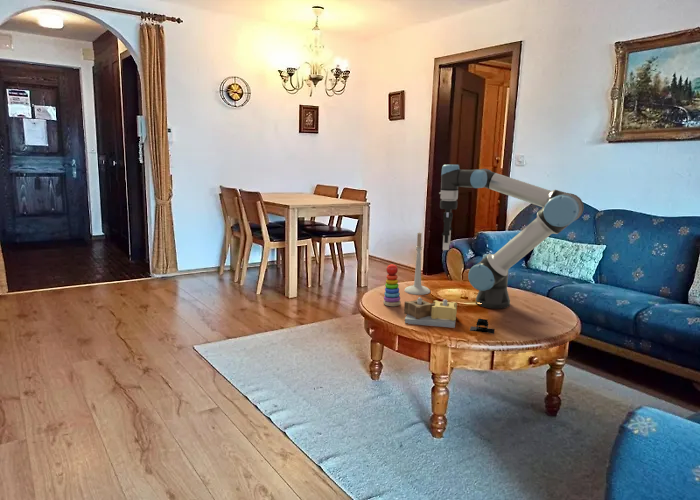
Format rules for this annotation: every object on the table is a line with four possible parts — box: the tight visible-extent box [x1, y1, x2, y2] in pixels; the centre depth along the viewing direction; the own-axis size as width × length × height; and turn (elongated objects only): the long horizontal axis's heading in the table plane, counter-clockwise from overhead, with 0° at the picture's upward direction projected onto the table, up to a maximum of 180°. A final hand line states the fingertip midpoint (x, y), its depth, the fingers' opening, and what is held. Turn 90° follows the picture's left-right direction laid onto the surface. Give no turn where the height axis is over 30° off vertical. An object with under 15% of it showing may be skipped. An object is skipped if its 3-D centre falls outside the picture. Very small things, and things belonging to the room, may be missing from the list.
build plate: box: [469, 318, 496, 335], centre depth 198 cm, size 12×7×5 cm, turn 72°
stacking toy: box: [383, 263, 402, 307], centre depth 227 cm, size 8×8×19 cm
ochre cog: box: [431, 300, 458, 321], centre depth 206 cm, size 10×10×5 cm
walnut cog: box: [403, 298, 435, 319], centre depth 209 cm, size 10×10×5 cm
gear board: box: [404, 296, 456, 329], centre depth 208 cm, size 20×14×9 cm
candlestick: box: [404, 232, 431, 296], centre depth 248 cm, size 13×13×30 cm
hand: (446, 247), depth 225 cm, fingers open, 13 cm apart
